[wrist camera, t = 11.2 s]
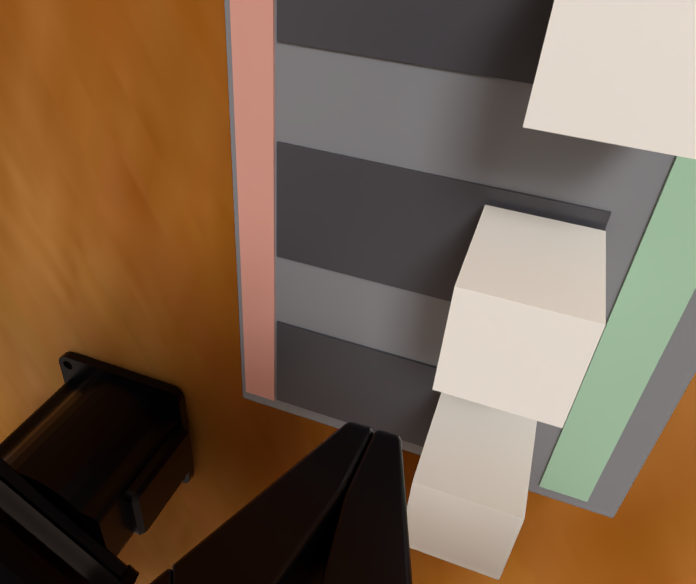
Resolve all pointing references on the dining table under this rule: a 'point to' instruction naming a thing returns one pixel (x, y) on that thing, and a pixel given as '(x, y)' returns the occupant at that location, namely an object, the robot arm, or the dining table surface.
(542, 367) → the handle
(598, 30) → the handle
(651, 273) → the breaker panel
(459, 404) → the white block
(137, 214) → the dining table surface
